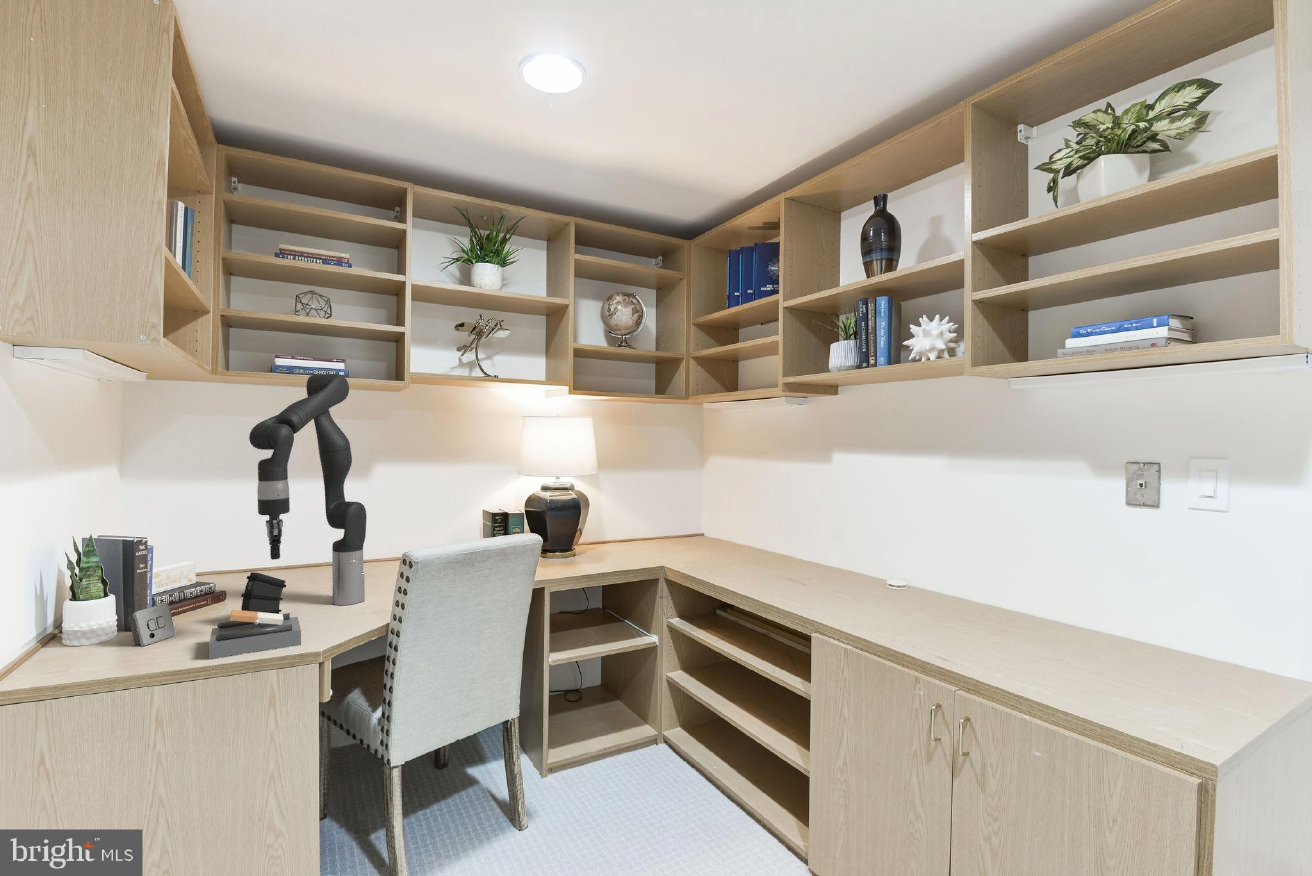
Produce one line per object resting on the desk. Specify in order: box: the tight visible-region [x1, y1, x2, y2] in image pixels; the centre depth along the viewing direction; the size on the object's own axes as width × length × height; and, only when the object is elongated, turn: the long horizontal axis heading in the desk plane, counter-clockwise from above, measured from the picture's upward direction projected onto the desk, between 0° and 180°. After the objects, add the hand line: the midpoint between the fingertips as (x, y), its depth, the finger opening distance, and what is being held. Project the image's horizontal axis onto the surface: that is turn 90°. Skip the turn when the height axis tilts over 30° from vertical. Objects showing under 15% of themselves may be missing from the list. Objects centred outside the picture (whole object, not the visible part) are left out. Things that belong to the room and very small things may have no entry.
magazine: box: [240, 571, 287, 614], centre depth 190 cm, size 4×13×15 cm, turn 164°
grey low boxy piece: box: [208, 612, 302, 660], centre depth 171 cm, size 20×14×6 cm
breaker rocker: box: [229, 609, 284, 625], centre depth 170 cm, size 12×6×2 cm, turn 123°
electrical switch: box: [127, 603, 177, 647], centre depth 173 cm, size 9×5×9 cm, turn 169°
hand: (275, 558), depth 177 cm, fingers closed
